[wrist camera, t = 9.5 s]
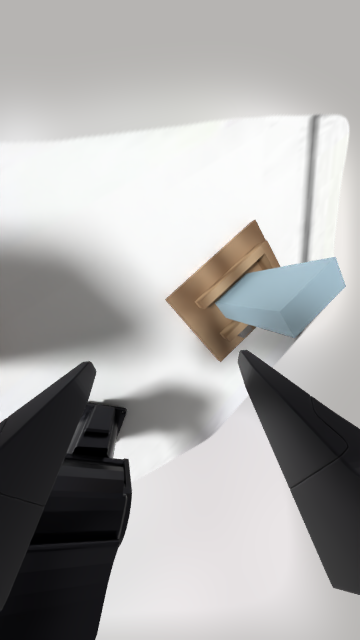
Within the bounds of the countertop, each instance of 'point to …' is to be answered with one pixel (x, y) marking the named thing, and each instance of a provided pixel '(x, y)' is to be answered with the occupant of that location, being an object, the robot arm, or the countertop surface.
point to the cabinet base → (222, 290)
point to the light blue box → (283, 296)
